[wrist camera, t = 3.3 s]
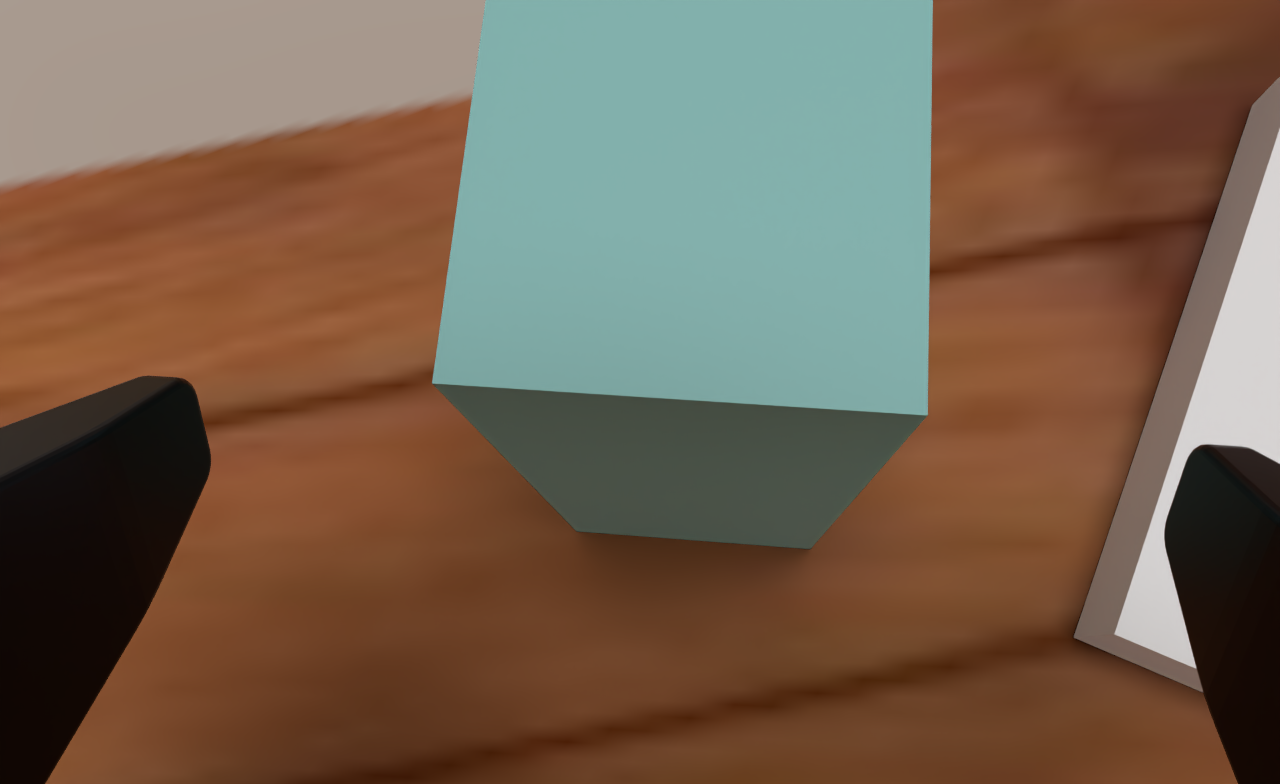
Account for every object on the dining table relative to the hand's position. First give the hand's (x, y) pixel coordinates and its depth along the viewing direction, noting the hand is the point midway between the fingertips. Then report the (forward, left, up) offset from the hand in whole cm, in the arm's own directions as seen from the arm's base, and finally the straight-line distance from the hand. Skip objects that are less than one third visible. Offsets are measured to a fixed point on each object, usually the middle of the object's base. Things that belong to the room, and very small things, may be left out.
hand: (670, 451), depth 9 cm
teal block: (+3, +1, -11) cm, 11 cm away
